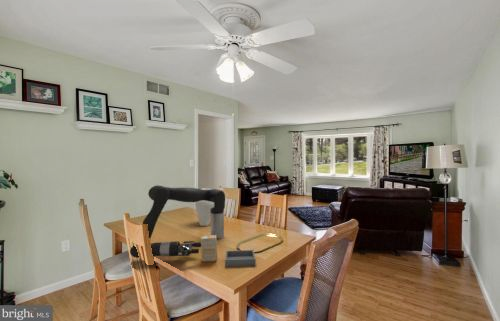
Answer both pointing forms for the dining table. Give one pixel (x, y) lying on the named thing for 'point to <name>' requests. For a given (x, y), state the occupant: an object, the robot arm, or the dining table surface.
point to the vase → (204, 210)
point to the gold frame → (259, 237)
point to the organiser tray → (240, 258)
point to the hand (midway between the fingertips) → (200, 247)
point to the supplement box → (209, 248)
